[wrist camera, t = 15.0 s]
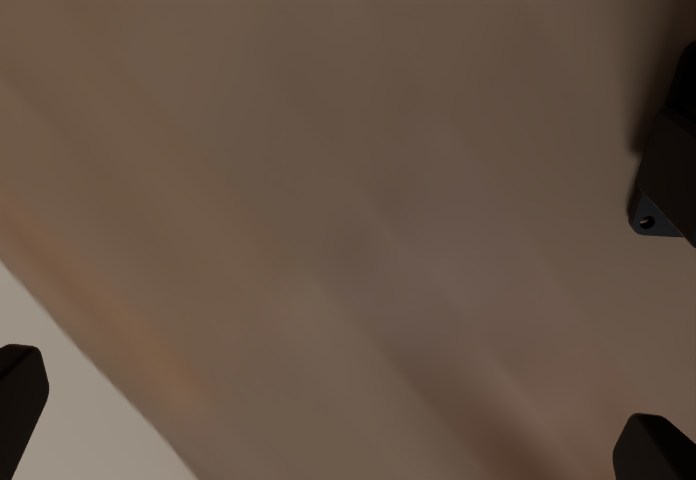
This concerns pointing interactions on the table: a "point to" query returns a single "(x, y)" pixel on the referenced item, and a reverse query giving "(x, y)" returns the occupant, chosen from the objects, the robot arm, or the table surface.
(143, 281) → the table surface
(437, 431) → the table surface
